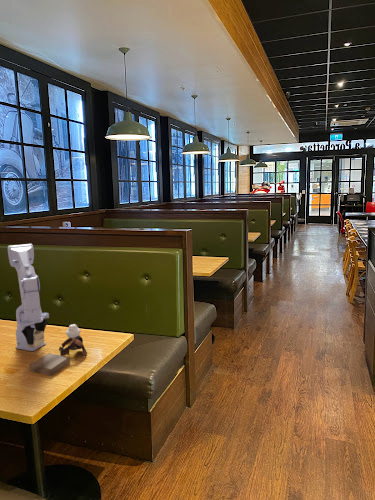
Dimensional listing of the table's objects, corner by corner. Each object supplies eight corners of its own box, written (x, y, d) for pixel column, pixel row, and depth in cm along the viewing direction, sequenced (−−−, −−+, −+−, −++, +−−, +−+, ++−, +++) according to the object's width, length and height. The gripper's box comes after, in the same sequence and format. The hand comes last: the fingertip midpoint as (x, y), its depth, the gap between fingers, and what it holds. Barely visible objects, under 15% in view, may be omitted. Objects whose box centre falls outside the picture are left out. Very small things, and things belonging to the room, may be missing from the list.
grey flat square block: (30, 372, 138) (29, 364, 138) (49, 360, 147) (48, 353, 147) (51, 377, 134) (51, 369, 134) (69, 364, 144) (69, 357, 143)
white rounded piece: (65, 337, 167) (64, 323, 166) (79, 335, 170) (78, 320, 168) (67, 343, 162) (66, 327, 160) (82, 340, 164) (80, 325, 163)
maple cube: (27, 346, 144) (25, 334, 144) (35, 341, 149) (34, 329, 148) (36, 348, 143) (34, 335, 142) (44, 343, 147) (43, 331, 146)
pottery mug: (84, 361, 146) (72, 346, 143) (65, 370, 148) (52, 355, 145) (93, 341, 157) (81, 327, 154) (75, 349, 159) (63, 335, 156)
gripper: (25, 315, 135) (29, 350, 137) (53, 303, 148) (56, 335, 151) (11, 313, 137) (14, 348, 140) (39, 301, 151) (42, 333, 153)
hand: (35, 341), depth 145 cm, fingers closed on maple cube, 4 cm apart
